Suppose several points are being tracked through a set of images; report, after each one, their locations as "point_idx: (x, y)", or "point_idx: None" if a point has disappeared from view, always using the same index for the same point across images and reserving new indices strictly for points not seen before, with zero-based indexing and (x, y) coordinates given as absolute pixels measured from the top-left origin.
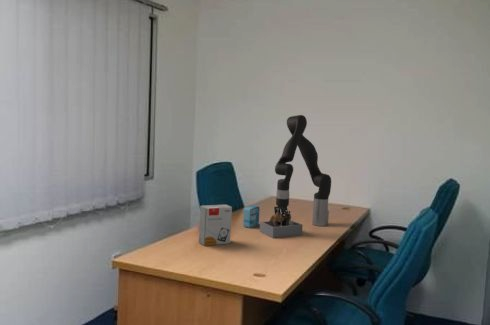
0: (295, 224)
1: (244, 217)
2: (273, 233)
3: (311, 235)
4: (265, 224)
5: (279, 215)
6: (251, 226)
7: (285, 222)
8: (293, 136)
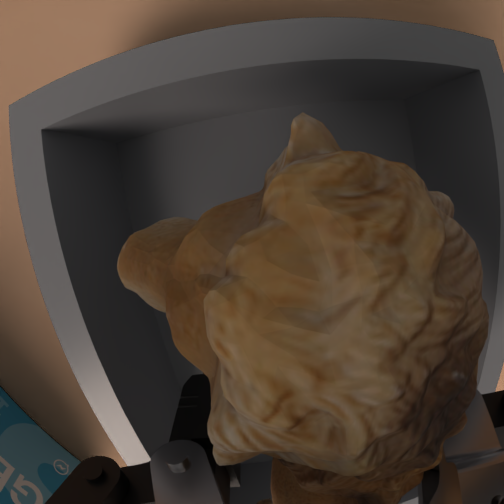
0: (340, 70)
1: None
2: None
3: (436, 8)
4: None
5: (119, 484)
6: (70, 461)
7: None
8: None
